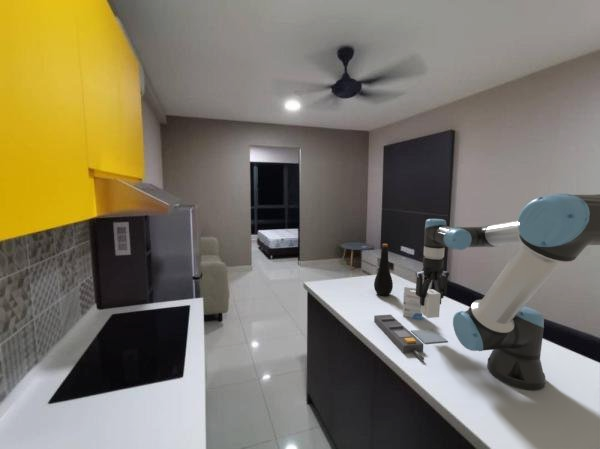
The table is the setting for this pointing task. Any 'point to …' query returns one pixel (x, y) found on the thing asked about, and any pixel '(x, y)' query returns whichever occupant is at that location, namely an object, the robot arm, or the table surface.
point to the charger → (432, 304)
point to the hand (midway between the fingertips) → (429, 312)
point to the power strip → (399, 334)
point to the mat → (429, 336)
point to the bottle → (383, 275)
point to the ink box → (411, 304)
